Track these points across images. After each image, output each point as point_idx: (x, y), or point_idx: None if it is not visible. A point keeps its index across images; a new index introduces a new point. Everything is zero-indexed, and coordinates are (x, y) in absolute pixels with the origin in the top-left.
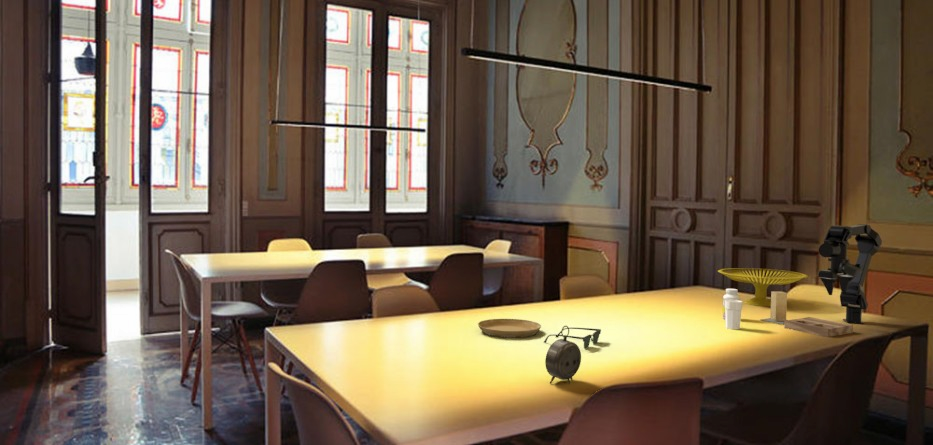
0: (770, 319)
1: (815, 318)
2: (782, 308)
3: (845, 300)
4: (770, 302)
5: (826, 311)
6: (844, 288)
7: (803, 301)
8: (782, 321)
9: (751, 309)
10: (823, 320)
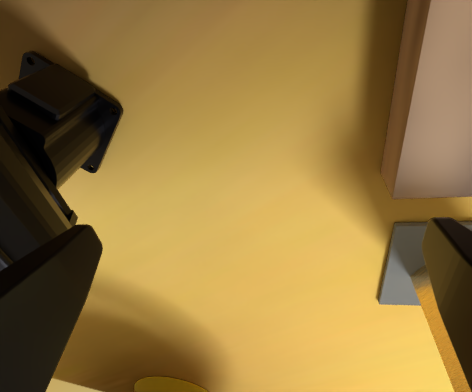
0: None
1: (413, 155)
2: None
3: (54, 211)
4: (162, 390)
5: None
6: (44, 288)
7: None
8: None
9: (285, 380)
10: (457, 77)
